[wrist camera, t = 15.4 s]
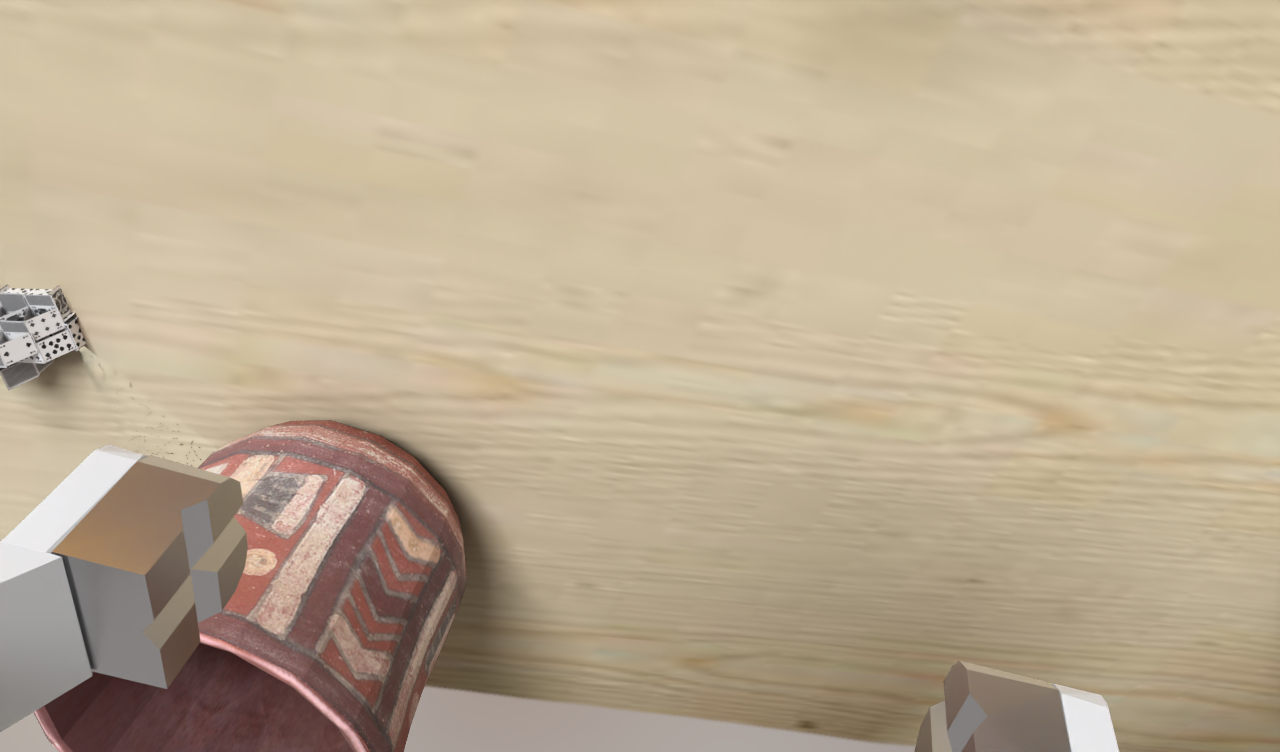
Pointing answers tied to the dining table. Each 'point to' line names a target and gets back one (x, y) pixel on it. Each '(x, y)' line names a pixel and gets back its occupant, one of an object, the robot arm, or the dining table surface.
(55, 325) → the house of cards
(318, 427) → the pottery
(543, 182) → the dining table surface
